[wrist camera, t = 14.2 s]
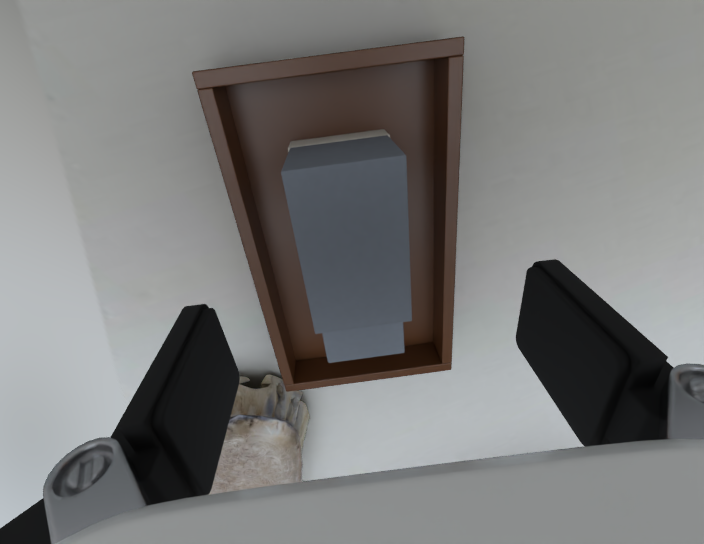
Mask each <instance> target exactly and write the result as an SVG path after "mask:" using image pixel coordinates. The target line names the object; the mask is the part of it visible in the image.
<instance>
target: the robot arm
mask: <svg viewBox="0 0 704 544" xmlns="http://www.w3.org/2000/svg"><path fill="white" fill-rule="evenodd" d="M516 342H517V345H518V348H519V349H520V351H521V352H522V354H523V355H524V357H525V358H526V360H527V361H528V363H529V364H530V366H531V367H532V369H533V371H534V372H535V374H536V375H537V377H538V378H539V380H540V381H541V383H542V384H543V386H544V387H545V389H546V390H547V392H548V393H549V395H550V396H551V398H552V399H553V401H554V402H555V404H556V405H557V407H558V408H559V410H560V412H561V413H562V415H563V416H564V418H565V419H566V421H567V422H568V424H569V425H570V427H571V428H572V430H573V431H574V433H575V434H576V436H577V437H578V439H579V440H580V442H581V443H582V444H583V445H584V446H586V447H577V448H568V449H560V450H551V451H543V452H535V453H527V454H518V455H510V456H502V457H493V458H485V459H477V460H469V461H461V462H453V463H445V464H437V465H429V466H421V467H413V468H405V469H397V470H389V471H381V472H373V473H365V474H357V475H349V476H342V477H334V478H327V479H319V480H311V481H304V482H296V483H289V484H281V485H273V486H266V487H258V488H250V489H244V490H237V491H230V492H223V493H217V494H210V495H208V494H209V493H210V491H211V489H212V485H213V481H214V478H215V474H216V470H217V466H218V462H219V459H220V455H221V451H222V447H223V443H224V439H225V436H226V432H227V428H228V424H229V420H230V417H231V413H232V409H233V405H234V401H235V397H236V394H237V390H238V386H239V380H240V377H239V371H238V368H237V366H236V363H235V361H234V358H233V356H232V353H231V350H230V348H229V345H228V343H227V340H226V338H225V335H224V332H223V330H222V327H221V325H220V322H219V320H218V317H217V315H216V312H215V310H214V309H213V308H208V306H207V305H205V304H201V305H193V306H186V307H184V308H183V309H182V311H181V313H180V315H179V317H178V318H177V320H176V322H175V324H174V326H173V327H172V329H171V331H170V333H169V334H168V336H167V338H166V340H165V342H164V343H163V345H162V347H161V349H160V351H159V352H158V354H157V356H156V358H155V359H154V361H153V363H152V364H151V366H150V368H149V370H148V372H147V373H146V375H145V377H144V379H143V381H142V382H141V384H140V386H139V388H138V389H137V391H136V393H135V395H134V397H133V398H132V400H131V402H130V404H129V405H128V407H127V409H126V411H125V413H124V414H123V416H122V418H121V420H120V422H119V423H118V425H117V427H116V429H115V431H114V432H113V434H112V436H111V438H109V437H108V438H97V439H94V440H91V441H88V442H86V443H84V444H82V445H80V446H78V447H77V448H75V449H74V450H72V451H71V452H70V453H68V454H67V455H66V456H65V457H64V458H63V459H62V460H60V461H59V463H57V464H56V466H55V467H54V468H53V470H52V471H51V472H50V474H49V475H48V477H47V479H46V482H45V484H44V489H43V499H41V500H40V501H39V502H37V503H36V504H34V505H33V506H31V507H30V508H29V509H27V510H26V511H24V512H23V513H22V514H20V515H19V516H18V517H16V518H15V519H13V520H12V521H10V522H9V523H8V524H6V525H5V526H3V527H2V528H0V544H704V365H700V364H683V365H678V366H676V367H675V368H673V367H672V366H671V365H670V364H669V363H668V362H666V360H667V358H668V357H667V356H666V355H665V354H664V353H663V352H662V351H661V350H659V349H658V348H657V347H656V346H655V345H654V344H653V343H652V342H650V341H649V340H648V339H647V338H646V337H645V336H644V335H642V334H641V333H640V332H639V331H638V330H637V329H636V328H635V327H633V326H632V325H631V324H630V323H629V322H628V321H627V320H625V319H624V318H623V317H622V316H621V315H620V314H619V313H618V312H616V311H615V310H614V309H613V308H612V307H611V306H610V305H609V304H607V303H606V302H605V301H604V300H603V299H602V298H601V297H599V296H598V295H597V294H596V293H595V292H594V291H593V290H592V289H590V288H589V287H588V286H587V285H586V284H585V283H584V282H582V281H581V280H580V279H579V278H578V277H577V276H576V275H575V274H573V273H572V272H571V271H570V270H569V269H568V268H567V267H565V266H564V265H563V264H562V263H561V262H560V261H558V260H546V261H539V262H535V263H534V264H533V266H532V267H530V268H528V270H527V274H526V280H525V286H524V292H523V298H522V303H521V309H520V315H519V321H518V327H517V333H516Z"/></svg>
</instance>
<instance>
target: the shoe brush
mask: <svg viewBox="0 0 704 544" xmlns="http://www.w3.org/2000/svg"><path fill="white" fill-rule="evenodd" d="M239 377H240V380H239V386H238V390H237V394H236V397H235V401H234V405H233V409H232V413H231V417H230V420H229V424H228V428H227V432H226V436H225V439H224V443H223V447H222V451H221V455H220V459H219V462H218V466H217V470H216V474H215V478H214V481H213V485H212V489H211V491H210V493H209V494H208V495H210V494H217V493H223V492H230V491H237V490H244V489H250V488H258V487H266V486H273V485H281V484H289V483H296V482H302V466H303V465H302V454H301V451H302V447H303V441H304V438H305V435H306V429H307V424H308V422H309V419H310V417H309V413H308V410H307V407H306V404H305V403H304V402H302V401H300V399H301V397H302V394H303V393H302V392H300V391H298V390H297V391H290V392H286V389H285V386H284V383H283V380H282V379H281V378H278V377H276V376H273V375H266V376H265V377H264V379H263V381H262V383H261V388H259V389H253V388H249V387H246V386H243V385H241V384H244V383H246V382H248V381H250V380H249V378H247V377H243V376H239Z"/></svg>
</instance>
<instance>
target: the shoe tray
mask: <svg viewBox="0 0 704 544" xmlns="http://www.w3.org/2000/svg"><path fill="white" fill-rule="evenodd" d="M463 54H464V37H456V38H448V39H440V40H433V41H425V42H417V43H409V44H402V45H394V46H386V47H379V48H371V49H363V50H355V51H348V52H340V53H332V54H324V55H317V56H309V57H301V58H293V59H286V60H278V61H270V62H262V63H255V64H247V65H239V66H232V67H224V68H216V69H208V70H201V71H193V72H192V74H193V77H194V81H195V84H196V87H197V89H199V90H198V94H199V98H200V101H201V104H202V108H203V111H204V115H205V118H206V121H207V125H208V128H209V132H210V135H211V138H212V142H213V145H214V149H215V152H216V155H217V159H218V162H219V166H220V169H221V172H222V176H223V179H224V182H225V186H226V189H227V193H228V196H229V199H230V203H231V206H232V210H233V213H234V216H235V220H236V223H237V227H238V230H239V233H240V237H241V240H242V244H243V247H244V250H245V254H246V257H247V260H248V264H249V267H250V271H251V274H252V277H253V281H254V284H255V288H256V291H257V294H258V298H259V301H260V305H261V308H262V311H263V315H264V318H265V322H266V325H267V328H268V332H269V335H270V338H271V342H272V345H273V349H274V352H275V355H276V359H277V362H278V366H279V369H280V372H281V376H282V379H283V383H284V386H285V389H286V392H290V391H297V390H304V389H312V388H319V387H327V386H334V385H341V384H349V383H356V382H364V381H371V380H378V379H386V378H393V377H401V376H408V375H415V374H423V373H430V372H438V371H445V370H451V364H452V363H451V362H452V339H453V313H454V288H455V262H456V237H457V212H458V186H459V161H460V135H461V110H462V84H463V59H464V57H463ZM380 129H384V130H385V131H386V132H387V133H388V134H389V135H390V138H391V139H392V141H393V142H394V143H395V144H396V145H397V146H398V147H399V148H400V149H401V150H402V151H403V152H404V154H405V155H406V161H407V190H408V219H409V248H410V277H411V306H412V321H408V322H403V328H404V348H405V352H404V353H400V354H392V355H385V356H377V357H370V358H363V359H355V360H348V361H340V362H333V363H328V361H327V356H326V351H325V346H324V341H323V336H322V333H319V334H315V331H314V326H313V321H312V317H311V312H310V307H309V302H308V298H307V293H306V288H305V284H304V279H303V274H302V269H301V265H300V260H299V255H298V251H297V246H296V241H295V236H294V232H293V227H292V222H291V218H290V213H289V208H288V203H287V199H286V194H285V189H284V184H283V180H282V175H281V171H282V168H283V165H284V163H285V160H286V158H287V155H288V147H289V145H290V142H291V141H297V140H304V139H312V138H320V137H327V136H335V135H342V134H350V133H358V132H365V131H373V130H380Z"/></svg>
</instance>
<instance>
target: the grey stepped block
mask: <svg viewBox="0 0 704 544" xmlns="http://www.w3.org/2000/svg"><path fill="white" fill-rule="evenodd" d="M281 175H282V180H283V184H284V189H285V194H286V199H287V203H288V208H289V213H290V218H291V222H292V227H293V232H294V236H295V241H296V246H297V251H298V255H299V260H300V265H301V269H302V274H303V279H304V284H305V288H306V293H307V298H308V302H309V307H310V312H311V317H312V321H313V326H314V331H315V334H319V333H322V336H323V341H324V346H325V351H326V356H327V361H328V363H333V362H340V361H348V360H355V359H363V358H370V357H377V356H385V355H392V354H400V353H404V352H405V348H404V328H403V322H408V321H412V306H411V277H410V248H409V219H408V190H407V161H406V155H405V154H404V152H403V151H402V150H401V149H400V148H399V147H398V146H397V145H396V144H395V143H394V142H393V141H392V139H391V138H390V135H389V134H388V133H387V132H386V131H385V130H384V129H380V130H373V131H365V132H358V133H350V134H342V135H335V136H327V137H320V138H312V139H304V140H297V141H291V142H290V145H289V147H288V155H287V158H286V160H285V163H284V165H283V168H282V171H281Z"/></svg>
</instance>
